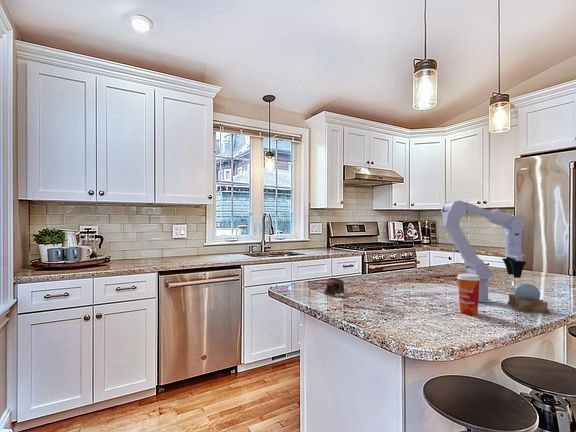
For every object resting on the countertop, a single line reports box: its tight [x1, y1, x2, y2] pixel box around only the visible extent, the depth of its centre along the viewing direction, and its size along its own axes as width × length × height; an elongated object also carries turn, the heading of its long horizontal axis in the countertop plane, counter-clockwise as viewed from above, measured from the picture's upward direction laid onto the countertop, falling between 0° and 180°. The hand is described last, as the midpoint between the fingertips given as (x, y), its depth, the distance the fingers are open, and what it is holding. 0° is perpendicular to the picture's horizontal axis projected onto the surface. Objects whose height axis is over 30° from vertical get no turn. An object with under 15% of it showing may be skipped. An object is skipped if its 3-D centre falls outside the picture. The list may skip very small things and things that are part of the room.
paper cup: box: [456, 273, 481, 316], centre depth 122 cm, size 8×8×14 cm
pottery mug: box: [323, 277, 345, 296], centre depth 154 cm, size 12×10×8 cm
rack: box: [507, 293, 550, 314], centre depth 128 cm, size 10×12×4 cm
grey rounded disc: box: [514, 282, 541, 300], centre depth 129 cm, size 8×2×8 cm, turn 72°
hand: (514, 276), depth 141 cm, fingers open, 7 cm apart
